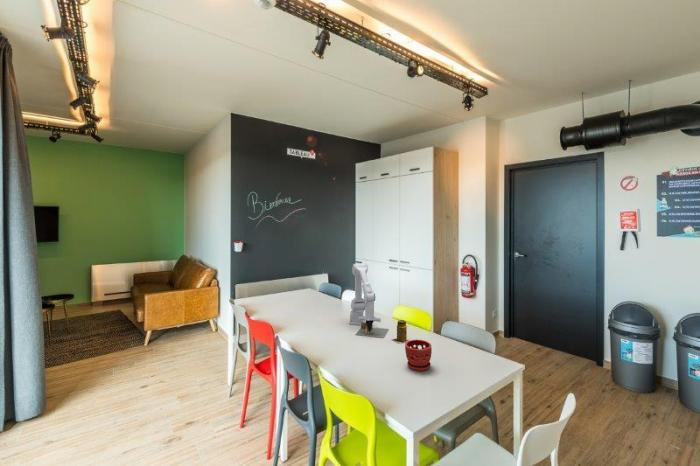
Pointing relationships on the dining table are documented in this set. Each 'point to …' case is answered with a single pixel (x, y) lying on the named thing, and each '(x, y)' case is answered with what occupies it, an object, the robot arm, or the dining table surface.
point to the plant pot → (418, 354)
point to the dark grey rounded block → (364, 325)
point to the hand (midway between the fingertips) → (369, 331)
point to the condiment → (401, 332)
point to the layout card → (373, 332)
